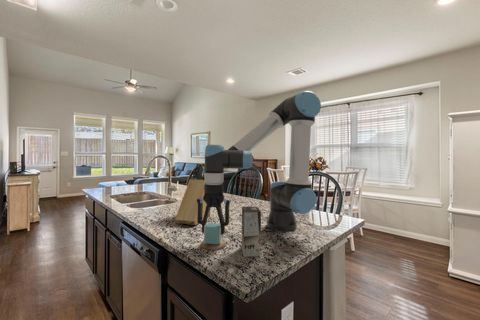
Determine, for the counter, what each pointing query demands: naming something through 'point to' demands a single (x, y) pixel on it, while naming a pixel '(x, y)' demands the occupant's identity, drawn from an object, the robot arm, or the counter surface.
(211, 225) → the teal rectangular block
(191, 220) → the knife block
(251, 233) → the coffee box
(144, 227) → the counter surface
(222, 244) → the post
